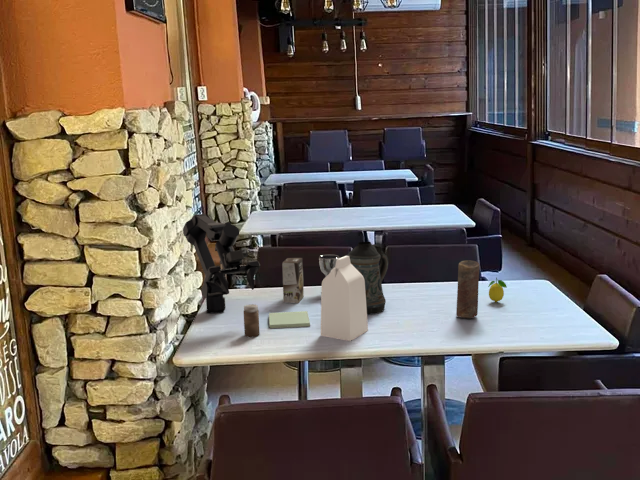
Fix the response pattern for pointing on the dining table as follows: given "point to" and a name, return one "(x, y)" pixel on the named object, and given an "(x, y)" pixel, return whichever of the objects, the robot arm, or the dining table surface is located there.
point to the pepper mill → (251, 320)
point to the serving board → (289, 319)
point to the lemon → (496, 290)
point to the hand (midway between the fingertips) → (241, 291)
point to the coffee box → (292, 280)
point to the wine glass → (327, 263)
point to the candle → (467, 289)
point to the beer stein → (371, 273)
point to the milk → (343, 302)
